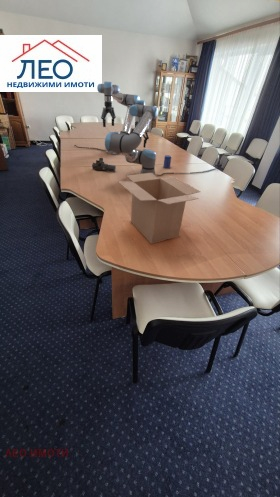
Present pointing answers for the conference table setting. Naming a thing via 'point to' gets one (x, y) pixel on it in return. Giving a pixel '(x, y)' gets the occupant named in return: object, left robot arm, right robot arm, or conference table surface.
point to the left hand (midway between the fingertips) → (108, 126)
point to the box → (158, 204)
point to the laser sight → (103, 166)
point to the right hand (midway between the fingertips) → (137, 147)
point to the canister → (167, 161)
